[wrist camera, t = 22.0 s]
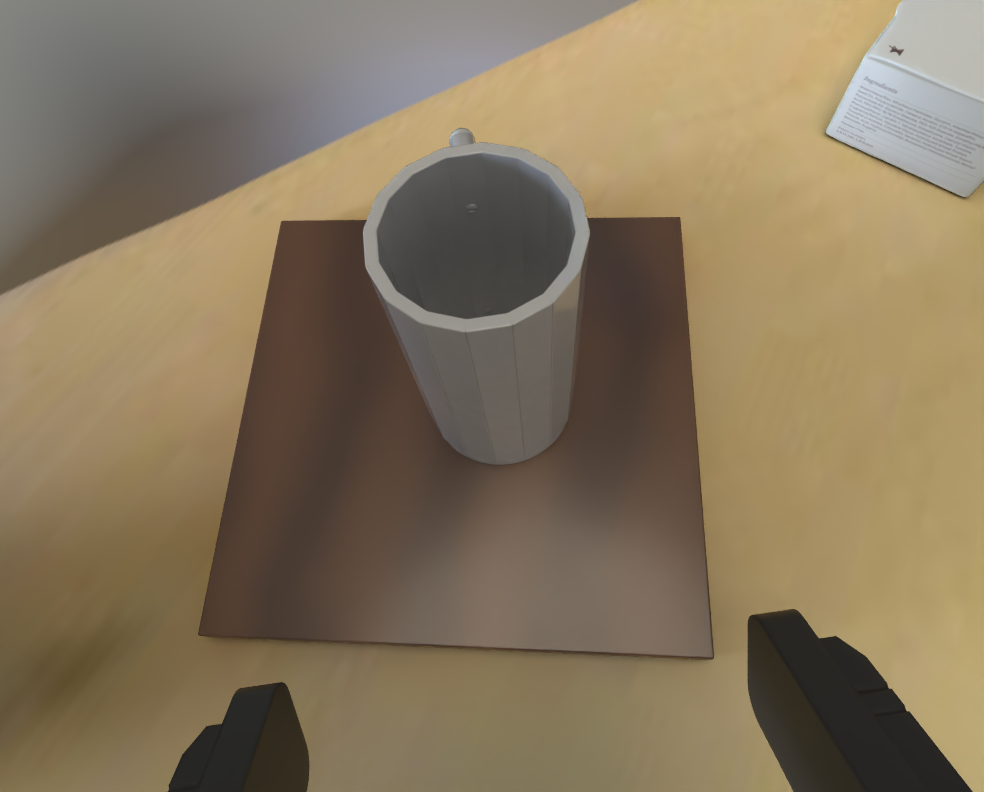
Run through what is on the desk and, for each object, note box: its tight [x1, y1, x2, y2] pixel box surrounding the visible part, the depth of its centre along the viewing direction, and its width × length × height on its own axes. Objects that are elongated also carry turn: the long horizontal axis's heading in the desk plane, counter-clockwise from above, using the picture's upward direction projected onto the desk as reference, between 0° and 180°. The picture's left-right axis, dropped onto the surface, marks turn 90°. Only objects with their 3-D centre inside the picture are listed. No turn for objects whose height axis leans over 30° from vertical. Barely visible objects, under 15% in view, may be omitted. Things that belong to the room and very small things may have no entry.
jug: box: [363, 128, 590, 465], centre depth 24 cm, size 9×6×12 cm
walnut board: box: [198, 217, 714, 660], centre depth 30 cm, size 20×20×1 cm
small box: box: [826, 0, 984, 197], centre depth 33 cm, size 8×8×5 cm
